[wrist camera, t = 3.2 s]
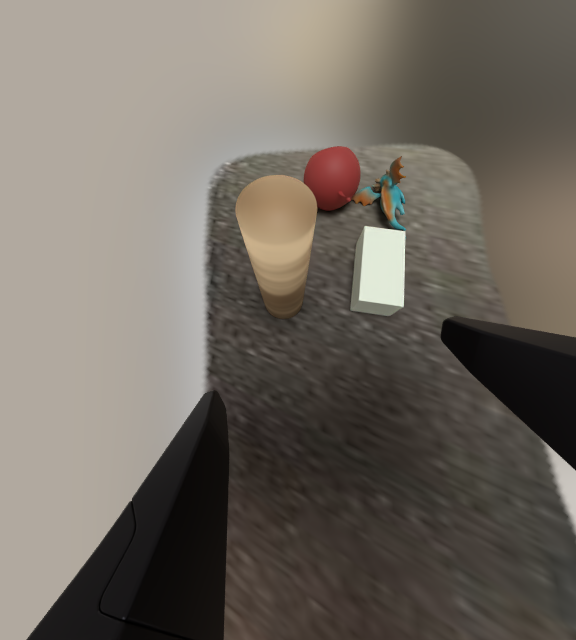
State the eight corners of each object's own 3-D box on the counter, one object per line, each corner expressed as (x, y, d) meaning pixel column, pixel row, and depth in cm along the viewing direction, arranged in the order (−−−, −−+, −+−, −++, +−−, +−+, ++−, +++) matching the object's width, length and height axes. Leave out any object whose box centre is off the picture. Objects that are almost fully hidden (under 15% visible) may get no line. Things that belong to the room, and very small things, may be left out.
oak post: (299, 321, 23) (311, 247, 10) (261, 315, 23) (227, 236, 10) (305, 286, 24) (321, 179, 11) (268, 280, 24) (244, 170, 12)
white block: (389, 316, 23) (403, 306, 20) (350, 310, 23) (358, 300, 20) (391, 248, 25) (405, 231, 22) (356, 244, 25) (364, 226, 22)
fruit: (304, 221, 28) (316, 206, 21) (298, 171, 27) (309, 134, 19) (351, 215, 29) (380, 197, 21) (348, 165, 27) (378, 126, 20)
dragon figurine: (449, 213, 25) (415, 147, 24) (431, 236, 21) (390, 159, 20) (395, 241, 31) (365, 189, 29) (373, 264, 27) (337, 205, 25)
